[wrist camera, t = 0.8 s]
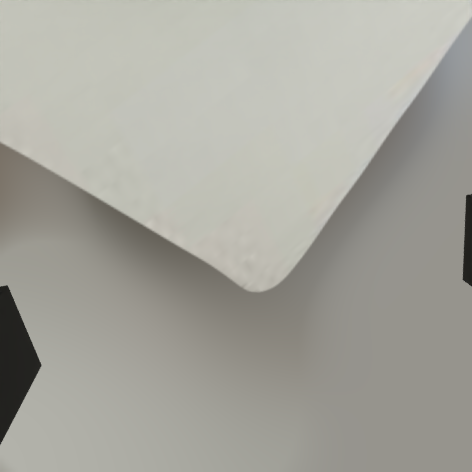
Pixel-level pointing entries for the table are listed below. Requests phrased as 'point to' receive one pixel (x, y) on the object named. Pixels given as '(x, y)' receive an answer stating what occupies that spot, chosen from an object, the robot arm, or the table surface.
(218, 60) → the table surface
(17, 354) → the robot arm
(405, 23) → the table surface
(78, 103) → the table surface
